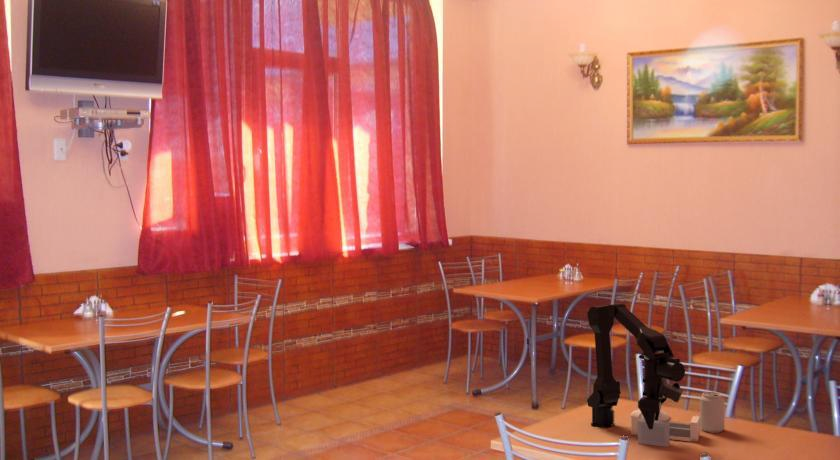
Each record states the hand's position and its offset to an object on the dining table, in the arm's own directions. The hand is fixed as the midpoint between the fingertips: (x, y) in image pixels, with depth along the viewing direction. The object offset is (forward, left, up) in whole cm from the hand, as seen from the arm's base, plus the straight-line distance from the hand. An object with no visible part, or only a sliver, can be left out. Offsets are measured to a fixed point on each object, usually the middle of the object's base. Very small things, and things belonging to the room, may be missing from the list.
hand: (653, 425), depth 256 cm
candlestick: (-6, +29, -6) cm, 31 cm away
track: (+2, +10, -6) cm, 12 cm away
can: (+15, +21, -6) cm, 27 cm away
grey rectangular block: (0, 0, -6) cm, 6 cm away
